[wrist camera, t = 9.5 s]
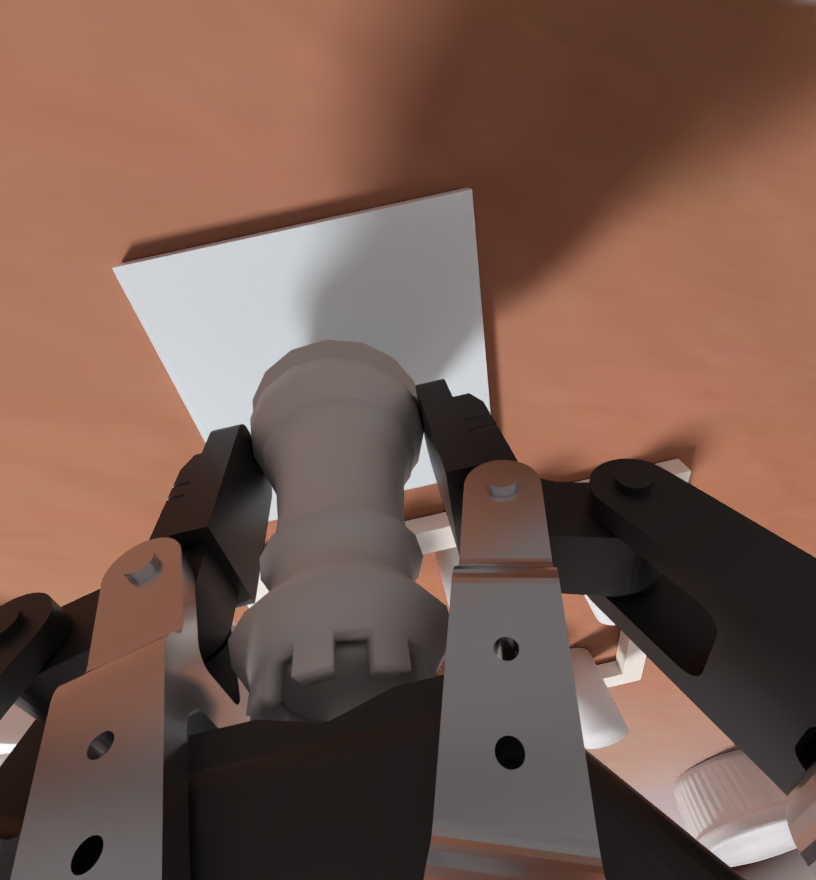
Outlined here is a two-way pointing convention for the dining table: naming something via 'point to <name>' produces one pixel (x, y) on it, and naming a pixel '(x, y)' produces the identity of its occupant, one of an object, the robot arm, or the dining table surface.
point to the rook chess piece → (336, 539)
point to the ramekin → (734, 809)
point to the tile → (318, 304)
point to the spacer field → (590, 679)
